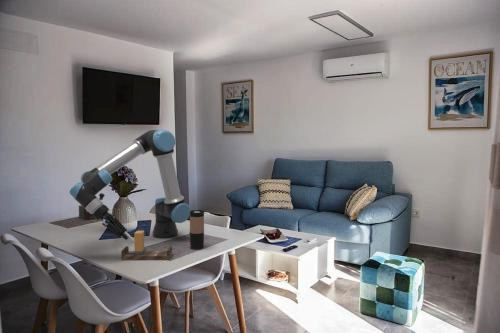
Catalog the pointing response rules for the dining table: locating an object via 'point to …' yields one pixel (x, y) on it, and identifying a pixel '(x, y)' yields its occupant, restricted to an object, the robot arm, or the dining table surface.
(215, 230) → the dining table surface
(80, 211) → the brown manual coffee grinder
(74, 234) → the dining table surface
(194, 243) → the travel mug
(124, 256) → the fader rail
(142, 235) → the fader knob
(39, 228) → the dining table surface
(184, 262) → the dining table surface
